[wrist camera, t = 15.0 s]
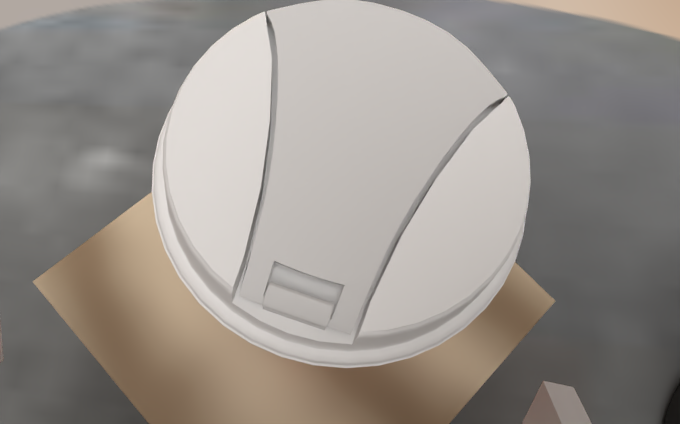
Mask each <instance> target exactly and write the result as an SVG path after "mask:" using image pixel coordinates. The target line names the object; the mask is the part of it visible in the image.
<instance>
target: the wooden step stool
mask: <svg viewBox="0 0 680 424" xmlns="http://www.w3.org/2000/svg"><path fill="white" fill-rule="evenodd" d="M33 283H34V284H35V285H36V286H37V288H38V289H39V290H40V291H41V292H42V294H43V295H44V296H45V297H46V299H47V300H48V301H49V302H50V303H51V305H52V306H53V307H54V308H55V310H56V311H57V312H58V313H59V314H60V316H61V317H62V318H63V319H64V321H65V322H66V323H67V324H68V325H69V327H70V328H71V329H72V330H73V332H74V333H75V334H76V335H77V336H78V338H79V339H80V340H81V341H82V343H83V344H84V345H85V346H86V347H87V349H88V350H89V351H90V352H91V354H92V355H93V356H94V357H95V358H96V360H97V361H98V362H99V363H100V365H101V366H102V367H103V368H104V369H105V371H106V372H107V373H108V374H109V376H110V377H111V378H112V379H113V380H114V382H115V383H116V384H117V385H118V387H119V388H120V389H121V390H122V391H123V393H124V394H125V395H126V396H127V398H128V399H129V400H130V401H131V402H132V404H133V405H134V406H135V407H136V409H137V410H138V411H139V412H140V413H141V415H142V416H143V417H144V418H145V420H146V421H147V422H148V423H149V424H449V423H450V422H451V421H452V420H453V419H454V417H455V416H456V415H457V414H458V413H459V412H460V410H461V409H462V408H463V407H464V406H465V405H466V404H467V402H468V401H469V400H470V399H471V398H472V397H473V395H474V394H475V393H476V392H477V391H478V390H479V389H480V387H481V386H482V385H483V384H484V383H485V382H486V380H487V379H488V378H489V377H490V376H491V375H492V374H493V372H494V371H495V370H496V369H497V368H498V367H499V365H500V364H501V363H502V362H503V361H504V360H505V359H506V357H507V356H508V355H509V354H510V353H511V352H512V350H513V349H514V348H515V347H516V346H517V345H518V344H519V342H520V341H521V340H522V339H523V338H524V337H525V335H526V334H527V333H528V332H529V331H530V330H531V329H532V327H533V326H534V325H535V324H536V323H537V322H538V320H539V319H540V318H541V317H542V316H543V315H544V314H545V312H546V311H547V310H548V309H549V308H550V307H551V306H552V304H553V303H554V302H555V300H554V299H553V298H552V297H551V296H550V295H549V294H548V293H547V292H546V291H544V290H543V289H542V288H541V287H540V286H539V285H538V284H537V283H536V282H535V281H534V280H533V279H532V278H531V277H530V276H529V275H528V274H527V273H526V272H525V271H524V270H523V269H522V268H521V267H520V266H519V265H518V264H517V263H516V262H514V264H513V266H512V268H511V270H510V272H509V274H508V276H507V278H506V280H505V282H504V284H503V286H502V287H501V289H500V290H499V291H498V293H497V294H496V295H495V297H494V298H493V300H492V301H491V302H490V304H489V305H488V306H487V308H486V309H485V310H484V311H483V312H482V313H480V314H479V315H478V316H477V317H476V318H475V319H474V320H473V321H472V322H471V323H470V324H469V325H468V326H467V327H466V328H465V329H463V330H462V331H460V332H459V333H457V334H456V335H454V336H453V337H451V338H450V339H448V340H446V341H445V342H443V343H442V344H440V345H439V346H436V347H434V348H432V349H430V350H427V351H425V352H423V353H421V354H418V355H416V356H414V357H411V358H408V359H404V360H400V361H396V362H392V363H388V364H384V365H380V366H369V367H356V368H338V367H326V366H315V365H310V364H306V363H302V362H298V361H295V360H291V359H287V358H283V357H280V356H278V355H275V354H273V353H271V352H269V351H266V350H264V349H262V348H260V347H257V346H255V345H253V344H251V343H249V342H248V341H246V340H244V339H243V338H241V337H240V336H238V335H237V334H235V333H234V332H232V331H231V330H229V329H228V328H226V327H225V326H223V325H222V324H221V323H220V322H219V321H218V320H217V319H216V318H215V317H213V316H212V315H211V314H210V313H209V312H208V311H207V310H206V309H205V308H204V307H203V306H202V305H200V304H199V302H198V301H197V300H196V299H195V297H194V296H193V295H192V293H191V292H190V291H189V289H188V288H187V287H186V286H185V284H184V283H183V282H182V280H181V279H180V278H179V276H178V274H177V272H176V270H175V268H174V266H173V264H172V263H171V261H170V259H169V257H168V255H167V253H166V251H165V249H164V246H163V242H162V239H161V236H160V233H159V230H158V227H157V224H156V219H155V212H154V205H153V197H152V192H151V193H150V194H148V195H147V196H146V197H144V198H143V199H142V200H140V201H139V202H138V203H136V204H135V205H134V206H132V207H131V208H130V209H128V210H127V211H126V212H124V213H123V214H122V215H120V216H119V217H118V218H116V219H115V220H114V221H112V222H111V223H110V224H108V225H107V226H106V227H104V228H103V229H102V230H101V231H99V232H98V233H97V234H95V235H94V236H93V237H91V238H90V239H89V240H87V241H86V242H85V243H83V244H82V245H81V246H79V247H78V248H77V249H75V250H74V251H73V252H71V253H70V254H69V255H67V256H66V257H65V258H63V259H62V260H61V261H59V262H58V263H57V264H55V265H54V266H53V267H51V268H50V269H49V270H47V271H46V272H45V273H43V274H42V275H41V276H39V277H38V278H37V279H36V280H34V281H33Z"/></svg>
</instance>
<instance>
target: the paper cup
mask: <svg viewBox="0 0 680 424" xmlns="http://www.w3.org/2000/svg"><path fill="white" fill-rule="evenodd" d="M506 96H507V92H506V91H505V90H504V89H503V87H502V86H501V85H500V84H499V83H498V81H497V80H496V79H495V78H494V76H493V75H492V74H491V73H490V71H489V70H488V69H487V68H486V67H485V66H484V65H483V64H482V63H481V61H480V60H479V59H478V58H477V57H476V56H475V55H474V54H473V53H472V52H471V51H470V50H469V48H467V47H466V46H465V45H464V44H462V43H461V42H460V41H459V40H457V39H456V38H455V37H454V36H452V35H451V34H450V33H449V32H447V31H445V30H443V29H441V28H440V27H438V26H436V25H434V24H432V23H431V22H429V21H427V20H425V19H422V18H420V17H417V16H415V15H412V14H410V13H407V12H405V11H402V10H399V9H395V8H391V7H388V6H384V5H380V4H377V3H371V2H365V1H358V0H320V1H314V2H307V3H301V4H296V5H291V6H287V7H282V8H278V9H273V10H269V11H267V20H266V16H265V12H263V13H260V14H258V15H255V16H253V17H251V18H250V19H248V20H246V21H245V22H243V23H241V24H240V25H238V26H236V27H235V28H233V29H232V30H230V31H229V32H228V33H227V34H225V35H224V36H223V37H222V38H221V39H219V40H218V41H217V42H216V43H215V44H213V45H212V46H211V47H210V48H209V49H208V51H207V52H206V53H205V54H204V55H203V56H202V57H201V59H200V60H199V61H198V62H197V63H196V64H195V65H194V67H193V68H192V70H191V71H190V73H189V75H188V76H187V78H186V79H185V81H184V83H183V84H182V86H181V87H180V89H179V91H178V94H177V96H176V99H175V101H174V104H173V106H172V108H171V109H170V111H169V113H168V116H167V118H166V121H165V123H164V125H163V128H162V130H161V133H160V135H159V139H158V143H157V148H156V152H155V157H154V161H153V175H152V197H153V205H154V212H155V219H156V224H157V227H158V230H159V233H160V236H161V239H162V242H163V246H164V249H165V251H166V253H167V255H168V257H169V259H170V261H171V263H172V264H173V266H174V268H175V270H176V272H177V274H178V276H179V278H180V279H181V280H182V282H183V283H184V284H185V286H186V287H187V288H188V289H189V291H190V292H191V293H192V295H193V296H194V297H195V299H196V300H197V301H198V302H199V304H200V305H202V306H203V307H204V308H205V309H206V310H207V311H208V312H209V313H210V314H211V315H212V316H213V317H215V318H216V319H217V320H218V321H219V322H220V323H221V324H222V325H223V326H225V327H226V328H228V329H229V330H231V331H232V332H234V333H235V334H237V335H238V336H240V337H241V338H243V339H244V340H246V341H248V342H249V343H251V344H253V345H255V346H257V347H260V348H262V349H264V350H266V351H269V352H271V353H273V354H275V355H278V356H280V357H283V358H287V359H291V360H295V361H298V362H302V363H306V364H310V365H315V366H326V367H338V368H356V367H369V366H380V365H384V364H388V363H392V362H396V361H400V360H404V359H408V358H411V357H414V356H416V355H418V354H421V353H423V352H425V351H427V350H430V349H432V348H434V347H436V346H439V345H440V344H442V343H443V342H445V341H446V340H448V339H450V338H451V337H453V336H454V335H456V334H457V333H459V332H460V331H462V330H463V329H465V328H466V327H467V326H468V325H469V324H470V323H471V322H472V321H473V320H474V319H475V318H476V317H477V316H478V315H479V314H480V313H482V312H483V311H484V310H485V309H486V308H487V306H488V305H489V304H490V302H491V301H492V300H493V298H494V297H495V295H496V294H497V293H498V291H499V290H500V289H501V287H502V286H503V284H504V282H505V280H506V278H507V276H508V274H509V272H510V270H511V268H512V266H513V264H514V262H515V260H516V257H517V254H518V251H519V247H520V244H521V241H522V237H523V234H524V226H525V218H526V213H527V210H528V201H529V193H530V185H531V177H530V157H529V152H528V147H527V142H526V138H525V133H524V129H523V126H522V123H521V121H520V118H519V116H518V113H517V110H516V108H515V105H514V104H513V102H512V100H511V98H510V96H509V97H507V98H506V99H505V100H504V98H505V97H506ZM503 100H504V101H503Z"/></svg>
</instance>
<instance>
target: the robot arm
mask: <svg viewBox="0 0 680 424" xmlns="http://www.w3.org/2000/svg"><path fill="white" fill-rule="evenodd" d="M2 360H3V349H2V335H1V321H0V363H1V362H2ZM522 424H592V423H591V421H590V419H589V417H588V415H587V413H586V411H585V409H584V407H583V405H582V403H581V401H580V399H579V397H578V395H577V393H576V391H575V389H574V387H571V386H566V385H561V384H556V383H551V382H547V381H543V382H542V384H541V386H540V388H539V390H538V392H537V394H536V396H535V398H534V400H533V402H532V404H531V406H530V408H529V410H528V412H527V414H526V416H525V418H524V420H523V422H522ZM664 424H680V385H679V387H678V388H677V390H676V392H675V394H674V396H673V398H672V400H671V403H670V405H669V408H668V411H667V414H666V418H665V422H664Z"/></svg>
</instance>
